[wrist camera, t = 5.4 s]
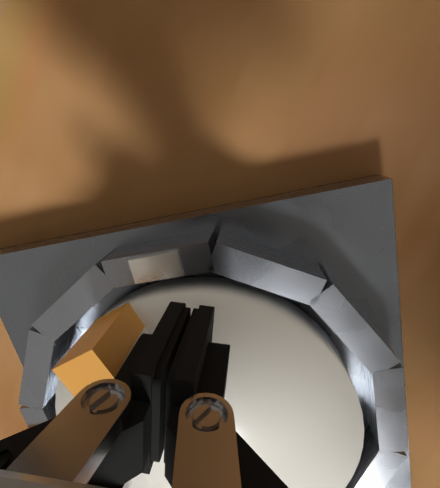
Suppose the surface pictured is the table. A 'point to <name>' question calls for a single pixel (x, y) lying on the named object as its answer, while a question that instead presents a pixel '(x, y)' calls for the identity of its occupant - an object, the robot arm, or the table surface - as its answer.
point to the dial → (243, 376)
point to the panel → (272, 219)
